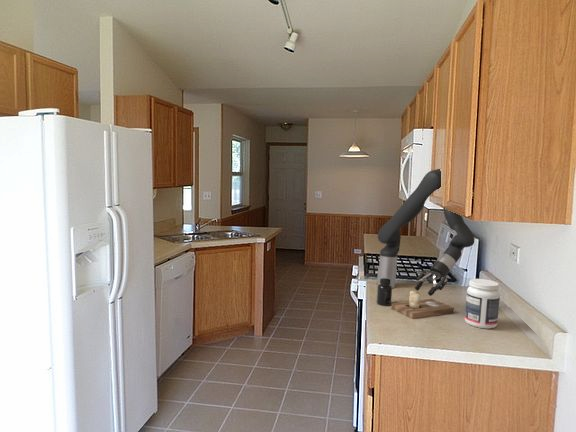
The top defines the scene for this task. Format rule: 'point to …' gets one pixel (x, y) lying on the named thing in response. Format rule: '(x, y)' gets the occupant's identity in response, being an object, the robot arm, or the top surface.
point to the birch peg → (414, 300)
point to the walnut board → (423, 308)
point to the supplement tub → (482, 303)
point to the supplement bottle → (384, 292)
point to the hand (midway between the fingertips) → (422, 291)
